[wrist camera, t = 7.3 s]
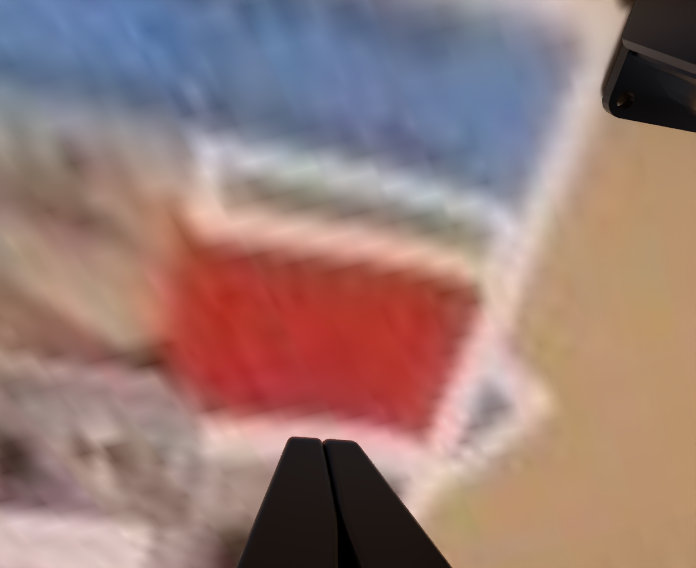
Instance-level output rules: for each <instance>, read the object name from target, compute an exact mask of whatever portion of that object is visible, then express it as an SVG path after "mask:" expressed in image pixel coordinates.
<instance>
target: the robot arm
mask: <svg viewBox="0 0 696 568" xmlns="http://www.w3.org/2000/svg"><path fill="white" fill-rule="evenodd" d="M622 40H623V45H622V48H621V50H620V53H619V55H618V58H617V60H616V63H615V66H614V68H613V71H612V73H611V76H610V78H609V81H608V83H607V86H606V89H605V91H604V94H603V98H602V104H603V108H604V109H605V110H606V112H608V113H610V114H611V115H613V116H615V117H618V118H622V119H627V120H632V121H637V122H643V123H648V124H653V125H659V126H664V127H669V128H675V129H680V130H685V131H690V132H696V0H636V1H635V3H634V6H633V8H632V11H631V13H630V16H629V19H628V21H627V24H626V26H625V29H624V31H623V34H622ZM624 92H627V99H626V100H625V102H624V103H623V104H621V105H620V106H617V99H618V97H619V96H620V95H621V94H622V93H624ZM236 568H452V567H451V565H450V564H449V563H448V562H447V560H446V559H445V558H444V556H443V555H442V554H441V552H440V551H439V550H438V548H437V547H436V546H435V544H434V543H433V542H432V540H431V539H430V538H429V537H428V535H427V534H426V533H425V531H424V530H423V529H422V527H421V526H420V525H419V523H418V522H417V521H416V519H415V518H414V517H413V515H412V514H411V513H410V512H409V510H408V509H407V508H406V506H405V505H404V504H403V502H402V501H401V500H400V498H399V497H398V496H397V494H396V493H395V492H394V490H393V489H392V488H391V487H390V485H389V484H388V483H387V481H386V480H385V479H384V477H383V476H382V475H381V473H380V472H379V471H378V469H377V468H376V467H375V465H374V464H373V463H372V461H371V460H370V459H369V458H368V456H367V455H366V454H365V452H364V451H363V450H362V448H361V447H360V446H359V445H358V444H357V443H356V442H354V441H351V440H336V439H327V440H325V441H323V443H322V441H321V440H320V439H318V438H307V437H291V438H289V439H288V441H287V443H286V445H285V448H284V450H283V453H282V455H281V458H280V460H279V463H278V465H277V467H276V470H275V472H274V475H273V477H272V480H271V482H270V485H269V487H268V490H267V492H266V494H265V497H264V499H263V502H262V504H261V507H260V509H259V512H258V514H257V517H256V519H255V521H254V524H253V526H252V529H251V531H250V534H249V536H248V539H247V541H246V544H245V546H244V548H243V551H242V553H241V556H240V558H239V561H238V563H237V566H236Z"/></svg>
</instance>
